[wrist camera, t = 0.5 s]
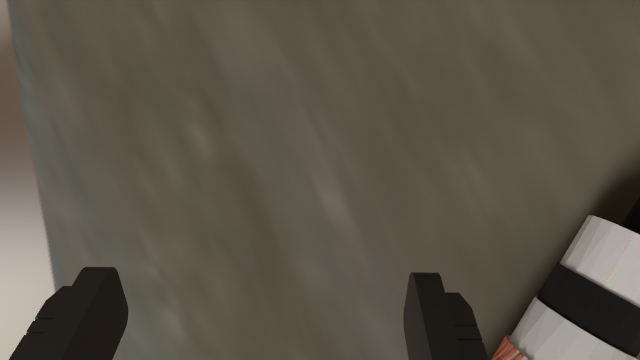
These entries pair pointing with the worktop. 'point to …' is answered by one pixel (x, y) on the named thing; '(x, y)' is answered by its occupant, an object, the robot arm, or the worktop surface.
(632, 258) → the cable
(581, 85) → the worktop surface
